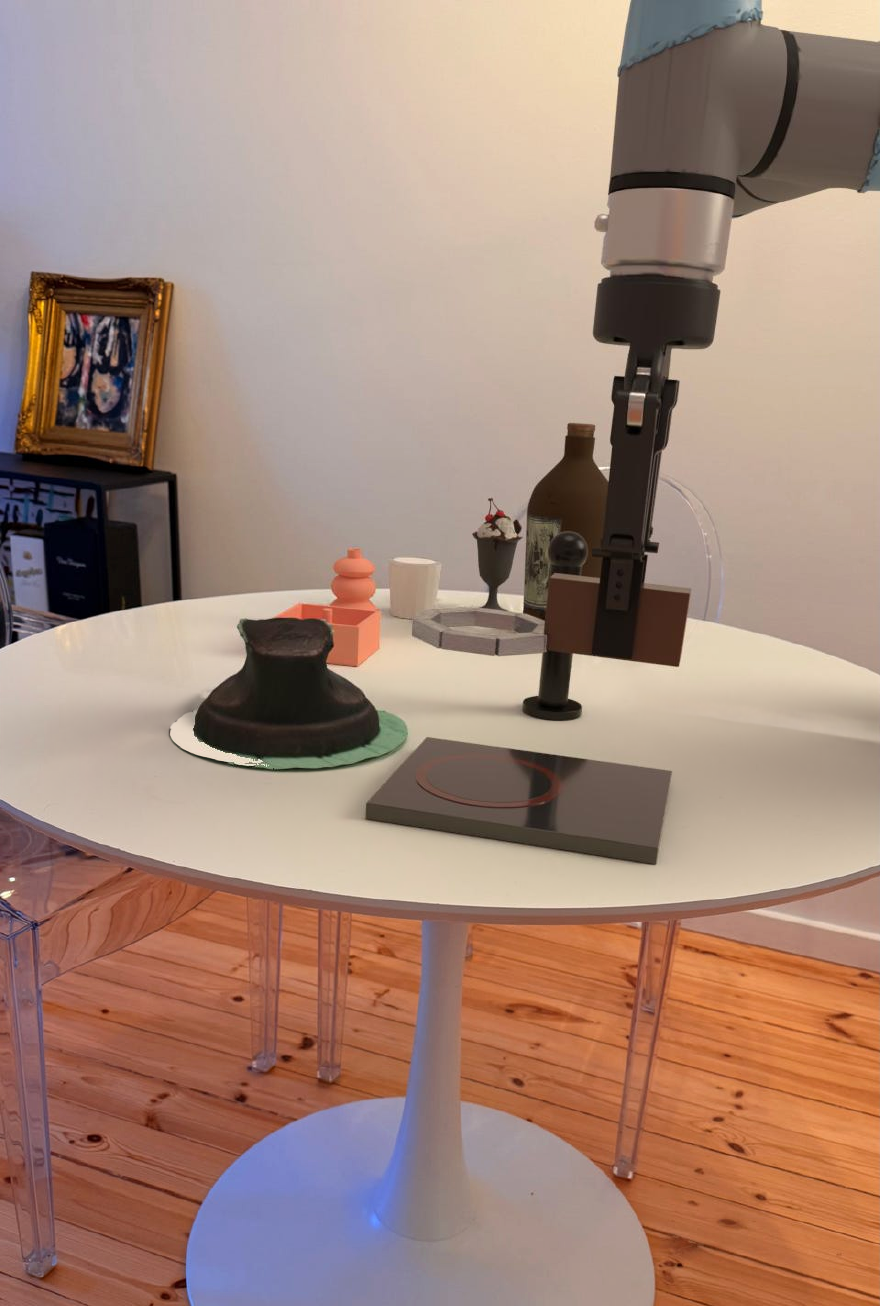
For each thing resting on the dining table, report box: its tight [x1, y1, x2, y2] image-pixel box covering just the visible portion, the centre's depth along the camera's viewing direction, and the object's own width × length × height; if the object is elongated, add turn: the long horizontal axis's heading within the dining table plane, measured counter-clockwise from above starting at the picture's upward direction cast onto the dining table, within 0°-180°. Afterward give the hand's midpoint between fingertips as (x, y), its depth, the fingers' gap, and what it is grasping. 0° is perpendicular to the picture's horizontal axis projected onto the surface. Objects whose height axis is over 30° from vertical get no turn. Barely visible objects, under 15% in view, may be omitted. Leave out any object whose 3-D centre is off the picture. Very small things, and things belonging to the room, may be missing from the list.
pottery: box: [272, 547, 382, 667], centre depth 121 cm, size 18×10×10 cm, turn 168°
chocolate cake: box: [193, 616, 409, 770], centre depth 91 cm, size 15×19×20 cm
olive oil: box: [522, 422, 609, 621], centre depth 127 cm, size 11×11×25 cm
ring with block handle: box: [411, 573, 692, 668], centre depth 75 cm, size 19×10×5 cm, turn 75°
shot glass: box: [388, 556, 443, 620], centre depth 139 cm, size 7×7×7 cm
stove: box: [365, 736, 673, 865], centre depth 80 cm, size 20×16×1 cm
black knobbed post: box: [521, 531, 588, 721], centre depth 100 cm, size 6×6×17 cm
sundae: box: [471, 497, 524, 611], centre depth 142 cm, size 7×7×15 cm
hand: (614, 650), depth 75 cm, fingers closed on ring with block handle, 2 cm apart
